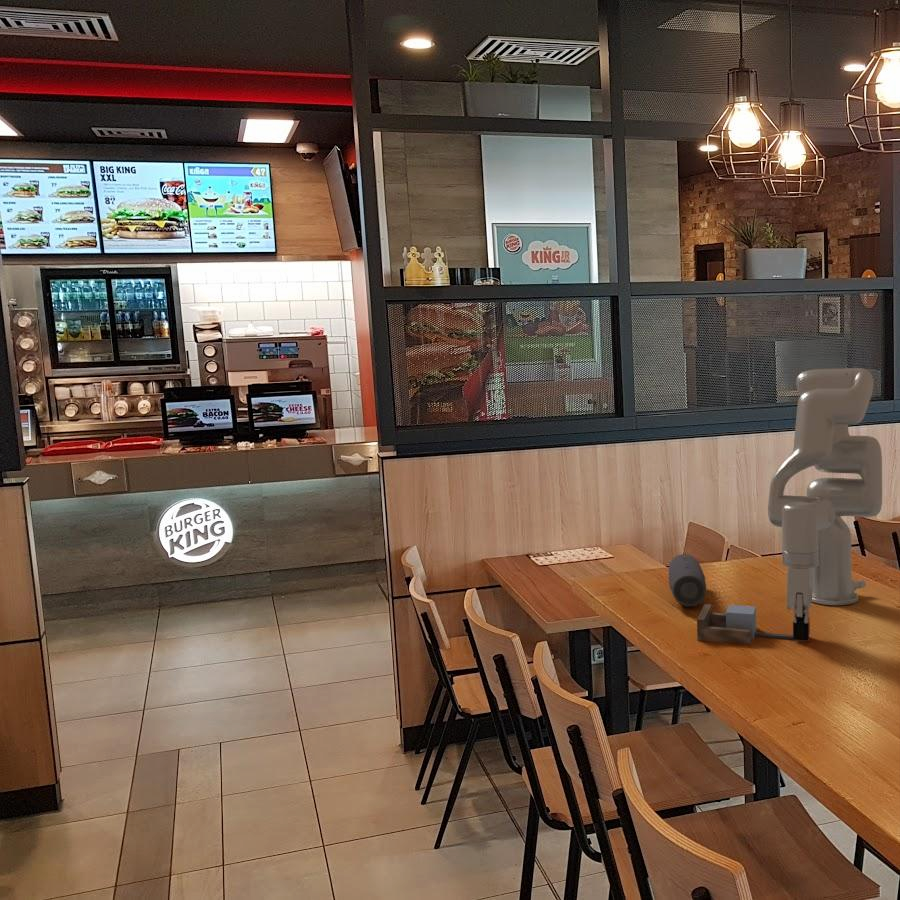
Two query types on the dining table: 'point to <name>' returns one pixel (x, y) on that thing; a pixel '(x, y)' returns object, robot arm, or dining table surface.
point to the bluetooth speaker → (687, 580)
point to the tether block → (751, 621)
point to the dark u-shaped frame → (719, 628)
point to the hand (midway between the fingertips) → (801, 636)
